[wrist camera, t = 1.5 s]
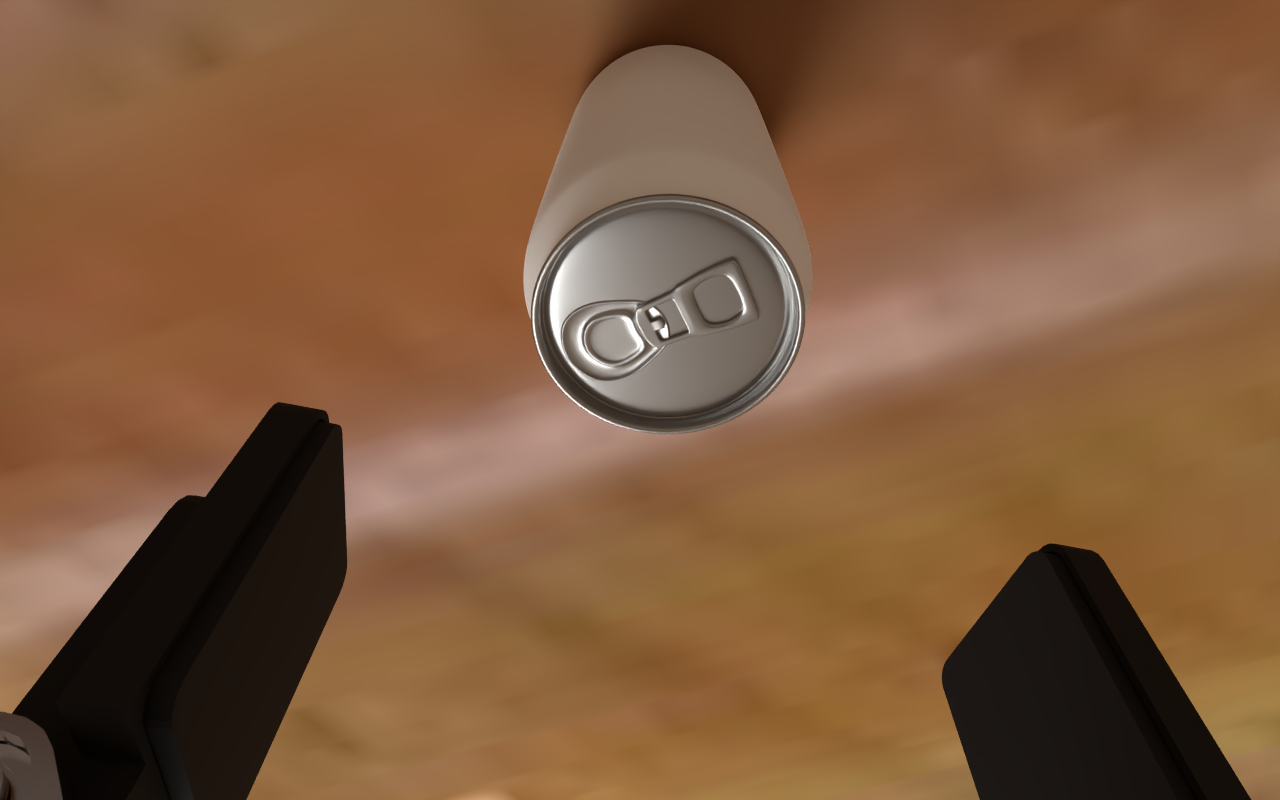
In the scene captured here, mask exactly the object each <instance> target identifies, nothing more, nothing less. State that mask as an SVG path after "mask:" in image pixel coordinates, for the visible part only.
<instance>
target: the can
mask: <svg viewBox="0 0 1280 800" xmlns="http://www.w3.org/2000/svg"><path fill="white" fill-rule="evenodd" d="M811 291H812V263H811V255H810V249H809V244H808V241H807V237H806V234H805V230H804V227H803V224H802V221H801V218H800V215H799V212H798V210H797V207H796V204H795V201H794V199H793V196H792V193H791V191H790V188H789V185H788V182H787V180H786V177H785V174H784V172H783V169H782V167H781V164H780V161H779V159H778V156H777V153H776V151H775V148H774V146H773V143H772V140H771V138H770V135H769V133H768V130H767V128H766V125H765V123H764V120H763V118H762V115H761V113H760V110H759V108H758V106H757V104H756V101H755V99H754V98H753V96H752V94H751V92H750V90H749V89H748V87H747V86H746V85H745V83H744V82H743V81H742V80H741V78H740V77H739V76H738V75H737V74H736V73H735V72H734V71H733V70H732V69H731V68H730V67H728V66H727V65H726V64H725V63H723V62H722V61H720V60H719V59H717V58H715V57H714V56H712V55H710V54H708V53H705V52H703V51H700V50H697V49H694V48H690V47H686V46H679V45H657V46H650V47H646V48H642V49H638V50H636V51H633V52H630V53H628V54H626V55H624V56H622V57H620V58H619V59H617V60H615V61H614V62H612V63H611V64H610V65H608V66H607V67H606V68H605V69H603V70H602V71H601V72H600V73H599V74H598V75H597V76H596V77H595V79H594V80H593V81H592V82H591V84H590V85H589V86H588V88H587V89H586V90H585V92H584V94H583V95H582V97H581V99H580V101H579V103H578V105H577V107H576V110H575V112H574V114H573V117H572V119H571V122H570V125H569V127H568V130H567V133H566V135H565V138H564V141H563V143H562V146H561V149H560V152H559V154H558V157H557V160H556V162H555V165H554V168H553V171H552V174H551V176H550V179H549V182H548V185H547V187H546V190H545V193H544V196H543V199H542V202H541V204H540V207H539V210H538V213H537V216H536V219H535V222H534V225H533V228H532V231H531V235H530V238H529V242H528V246H527V250H526V256H525V264H524V294H525V300H526V305H527V309H528V313H529V316H530V319H531V327H532V334H533V339H534V343H535V346H536V349H537V352H538V355H539V357H540V359H541V361H542V363H543V365H544V367H545V369H546V371H547V372H548V374H549V375H550V377H551V378H552V380H553V381H554V382H555V384H556V385H557V386H558V387H559V388H560V389H561V390H562V391H563V393H564V394H566V395H567V396H568V397H569V398H570V399H571V400H572V401H573V402H574V403H576V404H577V405H578V406H580V407H581V408H583V409H584V410H585V411H587V412H589V413H590V414H592V415H594V416H596V417H598V418H600V419H602V420H604V421H606V422H608V423H611V424H613V425H616V426H619V427H622V428H626V429H629V430H634V431H639V432H645V433H653V434H681V433H690V432H696V431H701V430H705V429H709V428H712V427H715V426H718V425H721V424H724V423H726V422H729V421H731V420H733V419H735V418H737V417H739V416H741V415H743V414H744V413H746V412H748V411H749V410H751V409H752V408H754V407H755V406H756V405H758V404H759V403H760V402H762V401H763V400H764V399H765V398H766V397H767V396H768V395H769V394H770V393H771V392H772V391H773V390H774V389H775V388H776V387H777V386H778V385H779V384H780V382H781V381H782V380H783V378H784V377H785V376H786V374H787V373H788V371H789V369H790V368H791V366H792V364H793V362H794V360H795V358H796V356H797V353H798V351H799V348H800V345H801V341H802V337H803V332H804V326H805V317H806V314H807V310H808V307H809V303H810V298H811Z"/></svg>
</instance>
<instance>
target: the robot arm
mask: <svg viewBox="0 0 1280 800" xmlns="http://www.w3.org/2000/svg"><path fill="white" fill-rule="evenodd" d="M346 570H347V546H346V519H345V493H344V466H343V440H342V428H341V426H340V425H337V424H332V423H329V418H328V414H327V412H326V411H324V410H319V409H314V408H308V407H303V406H297V405H292V404H286V403H281V402H278V403H276V404H274V405H273V406H272V407H271V408H270V409H269V411H268V412H267V413H266V415H265V416H264V418H263V419H262V420H261V422H260V423H259V424H258V426H257V427H256V429H255V430H254V431H253V433H252V434H251V435H250V437H249V438H248V439H247V441H246V442H245V444H244V445H243V446H242V448H241V449H240V450H239V452H238V453H237V455H236V456H235V457H234V459H233V460H232V461H231V463H230V464H229V465H228V467H227V468H226V470H225V471H224V472H223V474H222V475H221V476H220V478H219V479H218V480H217V482H216V483H215V485H214V486H213V487H212V489H211V490H210V491H209V493H208V494H207V496H206V497H201V496H193V495H187V496H186V497H184V498H182V499H180V500H178V501H177V502H176V503H175V504H174V506H173V507H172V508H171V509H170V510H169V511H168V512H167V513H166V515H165V516H164V517H163V519H162V520H161V521H160V522H159V524H158V525H157V526H156V528H155V529H154V530H153V531H152V533H151V534H150V535H149V537H148V538H147V539H146V541H145V542H144V543H143V544H142V546H141V547H140V548H139V550H138V551H137V552H136V553H135V555H134V556H133V557H132V559H131V560H130V561H129V563H128V564H127V565H126V566H125V568H124V569H123V570H122V572H121V573H120V574H119V575H118V577H117V578H116V579H115V581H114V582H113V583H112V585H111V586H110V587H109V588H108V590H107V591H106V592H105V594H104V595H103V596H102V597H101V599H100V600H99V601H98V603H97V604H96V605H95V607H94V608H93V609H92V610H91V612H90V613H89V614H88V616H87V617H86V618H85V619H84V621H83V622H82V623H81V625H80V626H79V627H78V629H77V630H76V631H75V632H74V634H73V635H72V636H71V638H70V639H69V640H68V642H67V643H66V644H65V645H64V647H63V648H62V649H61V651H60V652H59V653H58V654H57V656H56V657H55V658H54V660H53V661H52V662H51V664H50V665H49V666H48V667H47V669H46V670H45V671H44V673H43V674H42V675H41V676H40V678H39V679H38V680H37V682H36V683H35V684H34V686H33V687H32V688H31V689H30V691H29V692H28V693H27V695H26V696H25V697H24V698H23V700H22V701H21V702H20V704H19V705H18V706H17V708H16V709H15V710H14V711H13V713H12V714H10V713H6V712H0V800H246V799H247V797H248V795H249V793H250V790H251V788H252V786H253V784H254V781H255V779H256V777H257V775H258V773H259V770H260V768H261V766H262V764H263V762H264V759H265V757H266V755H267V753H268V751H269V748H270V746H271V744H272V742H273V740H274V737H275V735H276V733H277V731H278V728H279V726H280V724H281V722H282V720H283V717H284V715H285V713H286V711H287V709H288V706H289V704H290V702H291V700H292V698H293V695H294V693H295V691H296V689H297V686H298V684H299V682H300V680H301V678H302V675H303V673H304V671H305V669H306V667H307V664H308V662H309V660H310V658H311V656H312V653H313V651H314V649H315V647H316V644H317V642H318V640H319V638H320V636H321V633H322V631H323V629H324V627H325V625H326V622H327V620H328V618H329V616H330V614H331V611H332V609H333V607H334V605H335V602H336V600H337V598H338V596H339V594H340V591H341V589H342V586H343V583H344V580H345V575H346ZM942 684H943V688H944V692H945V695H946V698H947V701H948V704H949V707H950V710H951V713H952V716H953V719H954V722H955V725H956V728H957V731H958V734H959V737H960V740H961V743H962V746H963V750H964V753H965V756H966V759H967V762H968V765H969V768H970V771H971V774H972V777H973V780H974V783H975V786H976V789H977V792H978V795H979V798H980V800H1251V799H1250V797H1249V795H1248V794H1247V792H1246V790H1245V789H1244V787H1243V786H1242V784H1241V782H1240V781H1239V779H1238V777H1237V776H1236V774H1235V773H1234V771H1233V769H1232V768H1231V766H1230V765H1229V763H1228V761H1227V760H1226V758H1225V756H1224V755H1223V753H1222V752H1221V750H1220V748H1219V747H1218V745H1217V743H1216V742H1215V740H1214V739H1213V737H1212V735H1211V734H1210V732H1209V730H1208V729H1207V727H1206V726H1205V724H1204V722H1203V721H1202V719H1201V717H1200V716H1199V714H1198V713H1197V711H1196V709H1195V708H1194V706H1193V704H1192V703H1191V701H1190V700H1189V698H1188V696H1187V695H1186V693H1185V691H1184V690H1183V688H1182V687H1181V685H1180V683H1179V682H1178V680H1177V678H1176V677H1175V675H1174V674H1173V672H1172V670H1171V669H1170V667H1169V665H1168V664H1167V662H1166V661H1165V659H1164V657H1163V656H1162V654H1161V653H1160V651H1159V649H1158V648H1157V646H1156V644H1155V643H1154V641H1153V640H1152V638H1151V636H1150V635H1149V633H1148V631H1147V630H1146V628H1145V627H1144V625H1143V623H1142V622H1141V620H1140V618H1139V617H1138V615H1137V614H1136V612H1135V610H1134V609H1133V607H1132V605H1131V604H1130V602H1129V601H1128V599H1127V597H1126V596H1125V594H1124V592H1123V591H1122V589H1121V588H1120V586H1119V584H1118V583H1117V581H1116V579H1115V578H1114V576H1113V575H1112V573H1111V571H1110V570H1109V568H1108V566H1107V565H1106V563H1105V562H1104V560H1103V559H1102V558H1101V557H1100V555H1099V554H1097V553H1095V552H1094V551H1092V550H1086V549H1081V548H1075V547H1070V546H1064V545H1059V544H1047V545H1045V546H1043V547H1042V548H1041V549H1040V550H1039V551H1038V552H1037V551H1035V552H1033V553H1031V554H1029V555H1028V556H1027V557H1026V559H1025V560H1024V561H1023V563H1022V564H1021V565H1020V566H1019V568H1018V569H1017V570H1016V572H1015V573H1014V574H1013V575H1012V577H1011V578H1010V579H1009V581H1008V582H1007V583H1006V584H1005V586H1004V587H1003V588H1002V590H1001V591H1000V592H999V593H998V595H997V596H996V597H995V599H994V600H993V601H992V602H991V604H990V605H989V606H988V608H987V609H986V610H985V611H984V613H983V614H982V615H981V617H980V618H979V619H978V620H977V622H976V623H975V624H974V626H973V627H972V628H971V629H970V631H969V632H968V633H967V635H966V636H965V637H964V638H963V640H962V641H961V642H960V644H959V645H958V646H957V647H956V649H955V650H954V651H953V653H952V654H951V655H950V656H949V658H948V659H947V660H946V662H945V664H944V667H943V671H942Z"/></svg>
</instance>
